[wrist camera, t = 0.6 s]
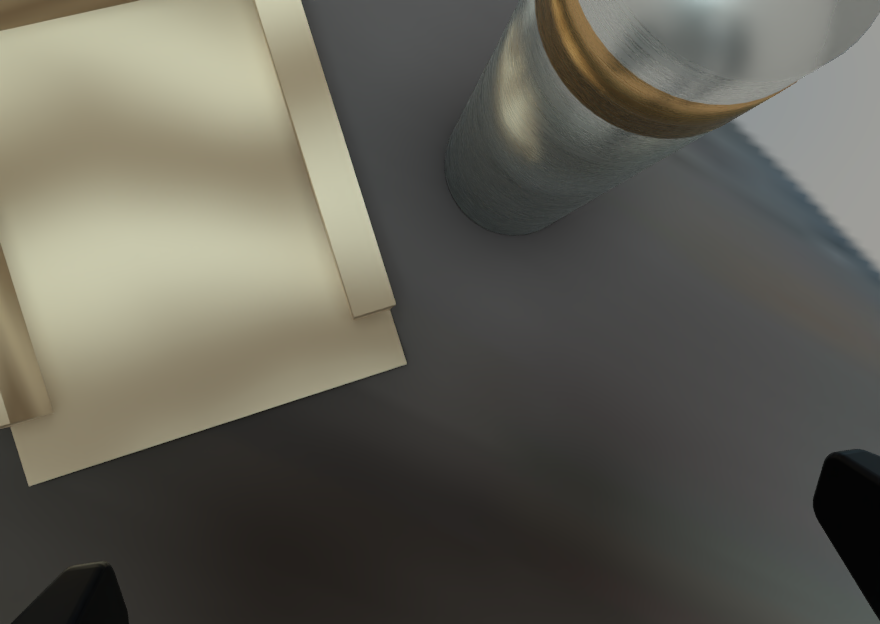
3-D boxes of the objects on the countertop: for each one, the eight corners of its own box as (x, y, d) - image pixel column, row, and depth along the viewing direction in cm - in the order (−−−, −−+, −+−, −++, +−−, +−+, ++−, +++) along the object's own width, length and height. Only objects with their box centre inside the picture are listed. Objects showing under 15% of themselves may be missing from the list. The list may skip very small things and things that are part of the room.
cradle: (405, 363, 21) (415, 366, 18) (36, 482, 19) (-19, 507, 16) (256, -112, 21) (242, -186, 18) (-125, -36, 19) (-210, -105, 16)
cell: (598, 209, 22) (986, 4, 9) (472, 255, 22) (686, 106, 8) (550, 81, 22) (866, -321, 9) (423, 122, 22) (555, -246, 8)
